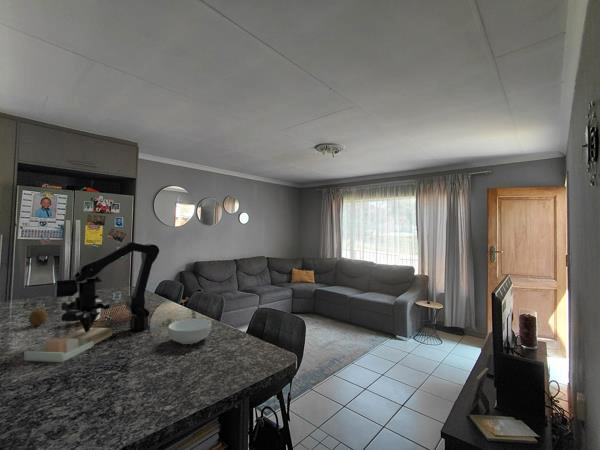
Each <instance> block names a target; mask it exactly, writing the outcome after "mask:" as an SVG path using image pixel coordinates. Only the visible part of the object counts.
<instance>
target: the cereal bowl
mask: <svg viewBox="0 0 600 450" xmlns="http://www.w3.org/2000/svg"><path fill="white" fill-rule="evenodd" d="M167 329H168V336H169V337H170V339H171V340H172V341H174V342H176V343H180V344H181V345H184V344H185V345H186V344H190V345H194V344H193V343H195V344H197V343H199V342H200V341H202V340H204V339H206V338H207V337H208V336H209V335H210V332H211V331H212V322H211V321H210V320H209V319H205V318H188V319H182V320H177V321H174V322H172V323H170V324H169V325H168V328H167Z"/></svg>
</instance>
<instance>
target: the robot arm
mask: <svg viewBox="0 0 600 450" xmlns="http://www.w3.org/2000/svg"><path fill="white" fill-rule="evenodd" d="M131 252H138V253H140V258H141V264H140V268H139V271H138V275H137V279H136V283H135V287H134V289H133V290H134V291H133V293H132V294H131V296H130V295H127V298H126V302H125V304H124V305H125V308H126V309H125V310H126V311H127V312H129V313H130V314H131V315H132V316H130V317H131V318H130V320H129V321H130V324H129V329H128V331H129V332H143V331H145V330H147V329H150V327H151V326H150V325H149V316H150V313H151V311H149V310H148V309H146V307H145V305H146V299H145V297H146V296H145V293H146V290H147V285H148V281H149V277H150V274H151V270H152V266H153V264H154V262H155V261H156V259H157V258H158V255H159V253H160V248H159V246H157V245H155V244H154V243H153V244H152V243H146V244H142V243H136V242H134V241H128V242H126V243H125V244H123V245H122V246H120V247H118V248H116V249H114V250H112V251H110V252H108V253H107V254H105V255H103V256H100V257H99V258H95V259H92V260H89V261H86V262H83V263H81V264H80V265H79V266H78V268H77V272H76V273H75V274H74V276H73V277H71V279H70V278H68V279H56V280H55V287H54V298H55V299H59V298H66V297H67V298H68V297H72V296H73V297H74V296H75V295H76V294H77V293H78V296H77V297H75V299H74V301H71V302H70V301H68V300H67V301H64V302H62V303H61V310H62V311H65V312H64V313H63V314H61V322H80V323H81V326H82V329H83V328H84V330H85V332H88V331H89V330H90V328H93V327H92V326H93V325H94V321H95V319H96V318H97V316H98V315H99V314H100V315H101V312H97V311H96V310H97V309H99V308H101V309H103V310H108V309H110V305H111V304H110V302H109V301H101V302H96V299H97V298H98V299H99V294H97V283H101V282H102V281H103V280H102V279H101V278H100V277H99V276H97V275H98V274H99V273H100V272H101V271H103V270H104V269H105V268H106V267H107V266H108V265H110V264H112V263H114V262H115V261H118V260H120V259H121V258H123V257H124V256H126V255H128V254H131ZM84 311H85V312H84Z"/></svg>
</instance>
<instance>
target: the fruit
mask: <svg viewBox="0 0 600 450" xmlns="http://www.w3.org/2000/svg"><path fill="white" fill-rule="evenodd" d="M47 317H48V315H47V312H46V311H45V310H44V309H40V308H37V309H35V310H33V311H31V312H30V314H29V317H28V321H29V323H30V325H31V326H35V327H39V326H41V325H43V324H45V322H46V321H47Z"/></svg>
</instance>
